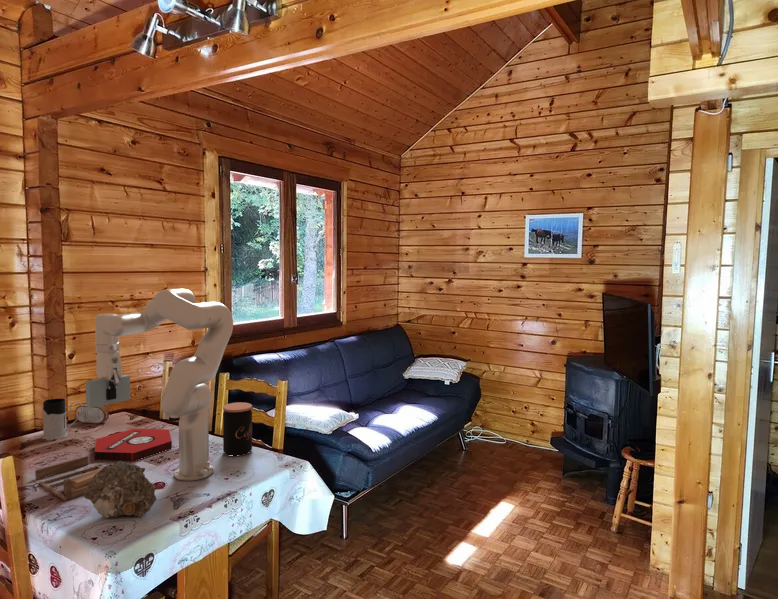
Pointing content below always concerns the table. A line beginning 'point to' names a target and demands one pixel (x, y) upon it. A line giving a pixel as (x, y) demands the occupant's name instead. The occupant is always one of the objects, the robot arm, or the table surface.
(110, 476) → the rock
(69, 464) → the rack
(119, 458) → the red flat hexagonal block
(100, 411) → the tin
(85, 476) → the offcut top
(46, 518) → the table surface
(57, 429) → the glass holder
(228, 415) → the coffee jar
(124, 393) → the grey-green rectangular block
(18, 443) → the table surface
